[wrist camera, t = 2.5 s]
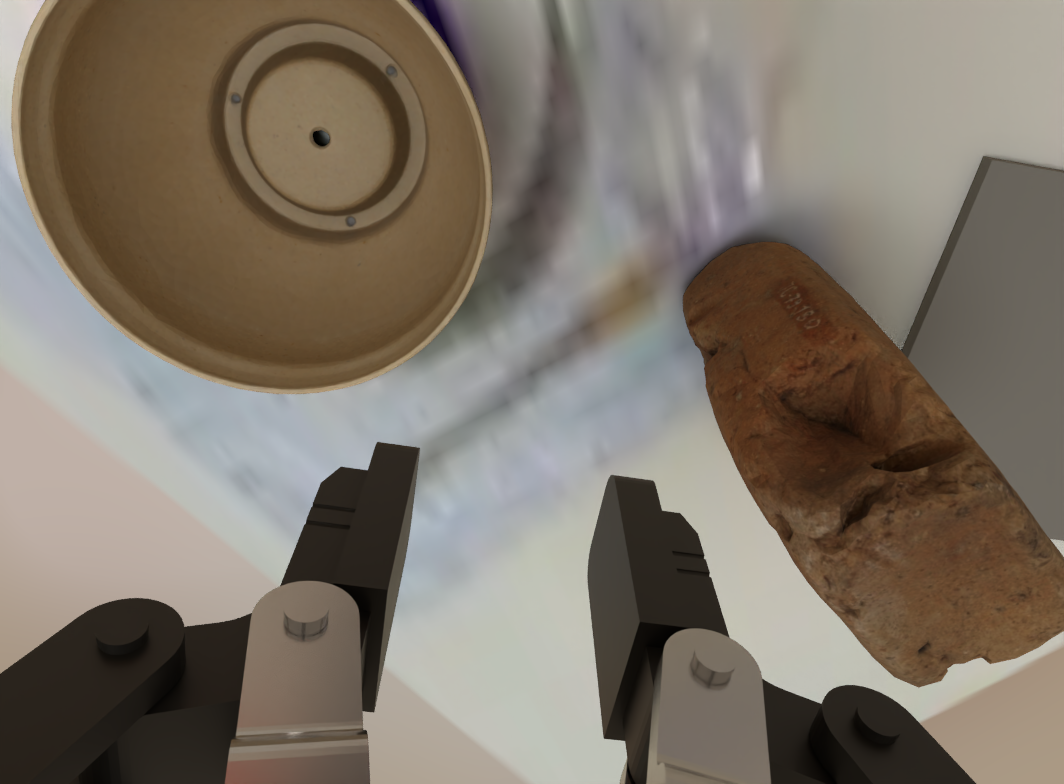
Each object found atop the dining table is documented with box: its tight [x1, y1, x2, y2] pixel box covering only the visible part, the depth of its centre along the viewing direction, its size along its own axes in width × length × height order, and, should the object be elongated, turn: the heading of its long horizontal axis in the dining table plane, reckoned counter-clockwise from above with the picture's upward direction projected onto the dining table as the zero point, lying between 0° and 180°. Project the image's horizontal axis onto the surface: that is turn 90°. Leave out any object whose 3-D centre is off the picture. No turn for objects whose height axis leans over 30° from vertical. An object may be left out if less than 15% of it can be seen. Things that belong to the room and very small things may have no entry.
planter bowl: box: [12, 0, 493, 394], centre depth 32 cm, size 16×16×11 cm
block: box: [683, 242, 1064, 687], centre depth 33 cm, size 11×8×20 cm
